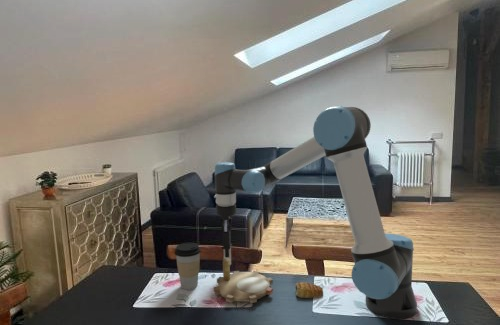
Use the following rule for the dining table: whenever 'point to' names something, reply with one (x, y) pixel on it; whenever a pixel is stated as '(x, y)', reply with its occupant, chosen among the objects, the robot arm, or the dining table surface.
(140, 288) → the dining table surface
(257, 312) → the dining table surface
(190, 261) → the coffee cup
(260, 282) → the turntable
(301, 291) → the pastry
